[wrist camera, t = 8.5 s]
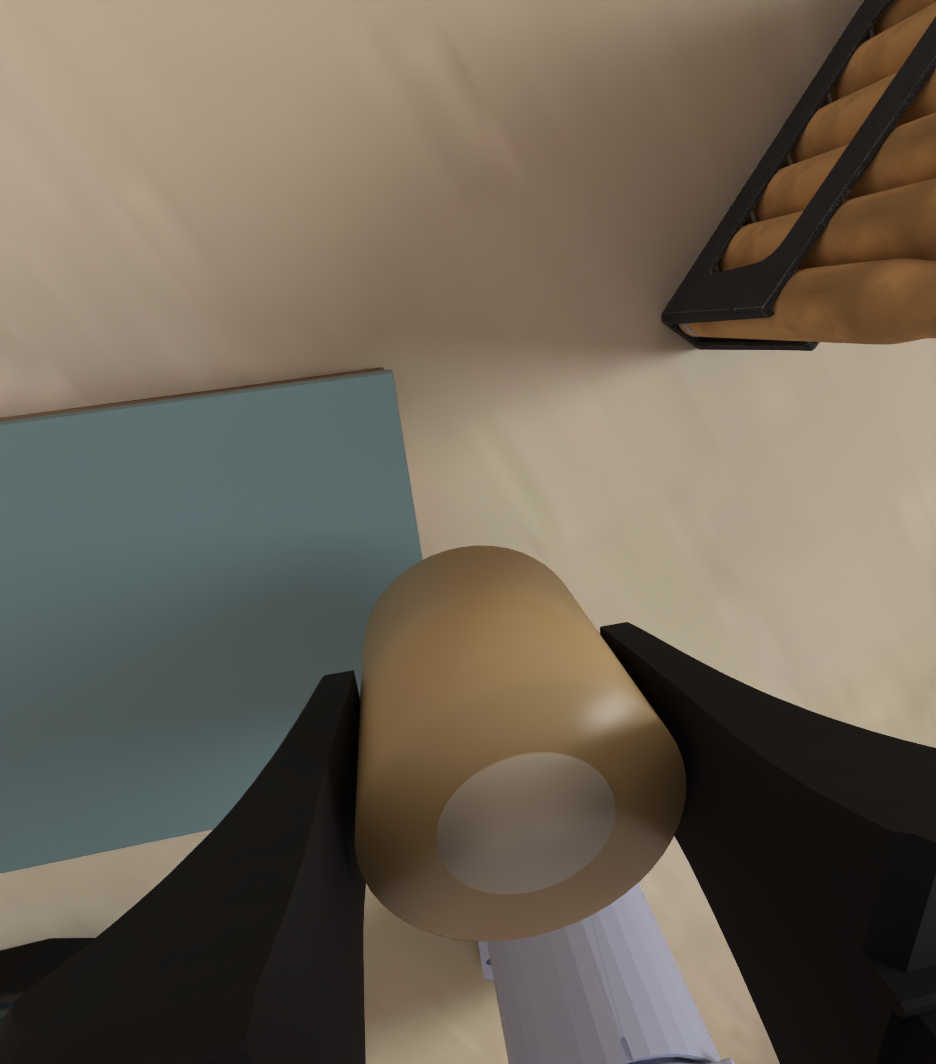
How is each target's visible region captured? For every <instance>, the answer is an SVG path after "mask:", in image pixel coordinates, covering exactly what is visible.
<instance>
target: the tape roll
mask: <svg viewBox="0 0 936 1064" xmlns="http://www.w3.org/2000/svg"><path fill="white" fill-rule="evenodd" d="M685 798H686V773H685V768H684V763H683V758H682V756H681V753H680V751H679V748H678V746H677V744H676V742H675V740H674V739H673V737H672V736H671V734H670V733H669V731H668V729H667V728H666V727H665V725H664V724H663V722H662V721H661V720H660V718H659V717H658V715H657V714H656V713H655V711H654V710H653V708H652V707H651V705H650V704H649V703H648V701H647V700H646V698H645V697H644V696H643V694H642V693H641V691H640V690H639V689H638V687H637V686H636V684H635V683H634V681H633V680H632V679H631V677H630V676H629V674H628V673H627V672H626V670H625V669H624V667H623V666H622V665H621V663H620V662H619V660H618V659H617V658H616V656H615V655H614V653H613V652H612V650H611V649H610V648H609V646H608V645H607V643H606V642H605V641H604V639H603V638H602V636H601V635H600V634H599V632H598V631H597V629H596V628H595V627H594V625H593V624H592V622H591V621H590V619H589V618H588V617H587V615H586V614H585V612H584V611H583V610H582V608H581V607H580V605H579V604H578V603H577V601H576V600H575V598H574V597H573V595H572V594H571V593H570V591H569V590H568V588H567V587H566V586H565V584H564V583H563V582H562V581H561V579H560V578H559V577H558V576H557V575H556V574H555V573H554V572H553V571H552V570H550V569H549V568H548V567H547V566H546V565H544V564H543V563H541V562H539V561H538V560H536V559H535V558H533V557H530V556H528V555H526V554H524V553H521V552H518V551H515V550H511V549H508V548H502V547H495V546H469V547H460V548H456V549H451V550H447V551H444V552H441V553H438V554H435V555H433V556H430V557H428V558H426V559H424V560H422V561H420V562H418V563H417V564H415V565H414V566H412V567H411V568H409V569H408V570H406V571H405V572H403V573H402V574H401V575H400V576H399V577H398V578H396V579H395V580H394V581H393V582H392V583H391V584H390V585H389V587H388V588H387V589H386V590H385V591H384V592H383V594H382V595H381V596H380V598H379V599H378V601H377V602H376V604H375V606H374V608H373V610H372V611H371V613H370V615H369V618H368V621H367V624H366V627H365V631H364V636H363V642H362V665H361V690H360V715H359V740H358V765H357V790H356V815H355V850H356V857H357V862H358V865H359V868H360V871H361V873H362V876H363V878H364V880H365V882H366V883H367V885H368V887H369V889H370V890H371V892H372V893H373V894H374V895H375V896H376V898H377V899H378V900H379V901H380V902H381V904H383V905H384V906H385V907H386V908H387V909H388V910H390V911H391V912H392V913H393V914H394V915H396V916H397V917H399V918H401V919H402V920H404V921H405V922H407V923H408V924H411V925H413V926H415V927H417V928H419V929H422V930H424V931H427V932H430V933H433V934H436V935H439V936H443V937H448V938H453V939H458V940H468V941H506V940H516V939H522V938H527V937H533V936H538V935H541V934H545V933H548V932H552V931H555V930H558V929H561V928H564V927H566V926H569V925H572V924H574V923H576V922H579V921H581V920H583V919H585V918H587V917H589V916H591V915H593V914H595V913H597V912H598V911H600V910H602V909H603V908H605V907H607V906H609V905H610V904H612V903H613V902H614V901H616V900H617V899H619V898H620V897H621V896H623V895H624V894H626V893H627V892H628V891H629V890H630V889H631V888H633V887H634V886H635V885H636V884H637V883H638V882H640V881H641V879H642V878H643V877H644V876H645V875H646V874H647V873H648V872H649V871H650V870H651V869H652V868H653V867H654V865H655V864H656V863H657V861H658V860H659V859H660V858H661V856H662V855H663V854H664V852H665V850H666V849H667V847H668V845H669V844H670V842H671V840H672V839H673V837H674V834H675V832H676V830H677V828H678V825H679V823H680V820H681V816H682V813H683V809H684V805H685Z"/></svg>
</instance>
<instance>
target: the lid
mask: <svg viewBox="0 0 936 1064" xmlns="http://www.w3.org/2000/svg"><path fill="white" fill-rule="evenodd" d="M420 561H422V555H421V548H420V542H419V536H418V530H417V523H416V517H415V511H414V504H413V498H412V492H411V486H410V479H409V473H408V467H407V460H406V454H405V448H404V442H403V435H402V429H401V423H400V416H399V410H398V404H397V398H396V391H395V385H394V379H393V373H392V370H385V371H377V372H370V373H362V374H355V375H347V376H340V377H332V378H325V379H317V380H310V381H302V382H294V383H287V384H279V385H272V386H264V387H257V388H249V389H242V390H234V391H227V392H219V393H211V394H204V395H196V396H189V397H181V398H174V399H166V400H159V401H151V402H144V403H136V404H128V405H121V406H113V407H106V408H98V409H91V410H83V411H76V412H68V413H61V414H53V415H46V416H38V417H30V418H23V419H15V420H8V421H0V873H5V872H9V871H14V870H19V869H24V868H29V867H33V866H38V865H43V864H48V863H53V862H57V861H62V860H67V859H72V858H77V857H81V856H86V855H91V854H96V853H100V852H105V851H110V850H115V849H120V848H124V847H129V846H134V845H139V844H144V843H148V842H153V841H158V840H163V839H168V838H172V837H177V836H182V835H187V834H192V833H196V832H201V831H206V830H211V829H214V828H215V827H216V826H217V825H218V824H219V823H220V822H221V821H222V820H223V818H224V817H225V816H226V815H227V814H228V813H229V812H230V810H231V809H232V808H233V807H234V806H235V804H236V803H237V802H238V801H239V800H240V798H241V797H242V796H243V795H244V793H245V792H246V791H247V790H248V788H249V787H250V786H251V785H252V783H253V782H254V781H255V779H256V778H257V777H258V775H259V774H260V772H261V771H262V770H263V768H264V767H265V766H266V764H267V763H268V762H269V760H270V759H271V758H272V756H273V755H274V753H275V752H276V751H277V749H278V748H279V746H280V745H281V743H282V742H283V740H284V739H285V737H286V735H287V734H288V732H289V731H290V729H291V728H292V726H293V725H294V723H295V722H296V720H297V719H298V717H299V715H300V714H301V712H302V710H303V709H304V707H305V705H306V704H307V702H308V700H309V699H310V697H311V695H312V693H313V692H314V690H315V688H316V687H317V685H318V683H319V681H320V680H321V679H322V677H323V676H324V675H329V674H334V673H340V672H346V671H351V670H354V673H355V677H356V682H357V687H358V691H359V696H360V690H361V665H362V642H363V636H364V631H365V627H366V624H367V621H368V618H369V615H370V613H371V611H372V610H373V608H374V606H375V604H376V602H377V601H378V599H379V598H380V596H381V595H382V594H383V592H384V591H385V590H386V589H387V588H388V587H389V585H390V584H391V583H392V582H393V581H394V580H395V579H396V578H398V577H399V576H400V575H401V574H402V573H403V572H405V571H406V570H408V569H409V568H411V567H412V566H414V565H415V564H417V563H418V562H420Z"/></svg>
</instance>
